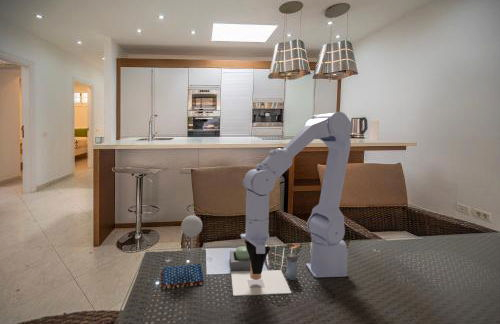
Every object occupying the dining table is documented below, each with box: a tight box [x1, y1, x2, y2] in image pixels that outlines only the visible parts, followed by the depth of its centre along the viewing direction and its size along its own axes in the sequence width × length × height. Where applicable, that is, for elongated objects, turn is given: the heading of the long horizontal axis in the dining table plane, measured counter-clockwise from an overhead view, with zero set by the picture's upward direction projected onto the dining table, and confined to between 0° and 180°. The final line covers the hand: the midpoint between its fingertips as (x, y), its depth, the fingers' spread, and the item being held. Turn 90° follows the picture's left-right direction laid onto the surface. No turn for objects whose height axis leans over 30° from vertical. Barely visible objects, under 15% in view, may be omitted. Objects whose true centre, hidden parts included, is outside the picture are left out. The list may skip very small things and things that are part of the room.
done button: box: [235, 245, 250, 261], centre depth 87 cm, size 5×5×3 cm
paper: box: [230, 269, 292, 297], centre depth 76 cm, size 14×12×1 cm
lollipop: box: [180, 214, 204, 265], centre depth 84 cm, size 6×6×15 cm
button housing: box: [229, 250, 250, 272], centre depth 87 cm, size 8×8×2 cm
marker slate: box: [285, 253, 298, 281], centre depth 79 cm, size 3×3×6 cm
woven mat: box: [160, 263, 205, 290], centre depth 78 cm, size 10×11×2 cm
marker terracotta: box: [249, 262, 261, 280], centre depth 75 cm, size 3×3×7 cm
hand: (256, 270), depth 75 cm, fingers closed on marker terracotta, 3 cm apart
